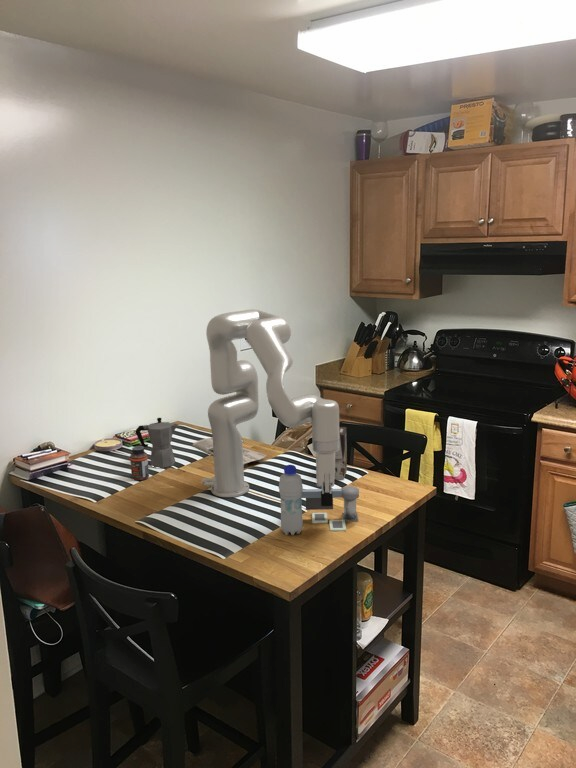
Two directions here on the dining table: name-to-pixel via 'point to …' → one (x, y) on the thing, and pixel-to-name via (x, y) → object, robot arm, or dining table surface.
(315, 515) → the label tile
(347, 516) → the post
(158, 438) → the coffeepot
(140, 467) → the supplement bottle
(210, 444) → the newspaper
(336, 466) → the coffee box
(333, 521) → the label tile
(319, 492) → the bar
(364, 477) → the dining table surface
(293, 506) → the bottle
